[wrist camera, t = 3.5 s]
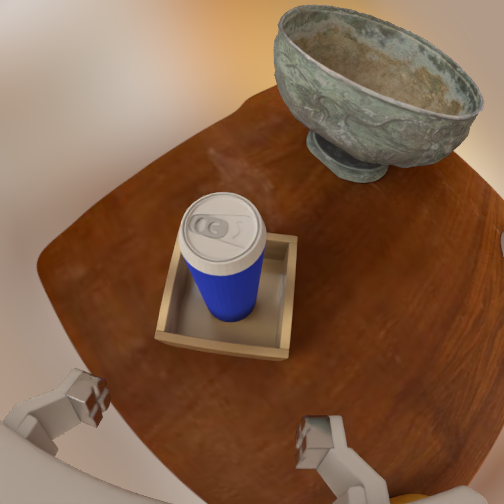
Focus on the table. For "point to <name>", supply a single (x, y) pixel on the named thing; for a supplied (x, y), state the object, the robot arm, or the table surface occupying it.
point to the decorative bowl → (370, 91)
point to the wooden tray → (242, 332)
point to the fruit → (406, 498)
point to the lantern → (502, 242)
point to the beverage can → (224, 252)
